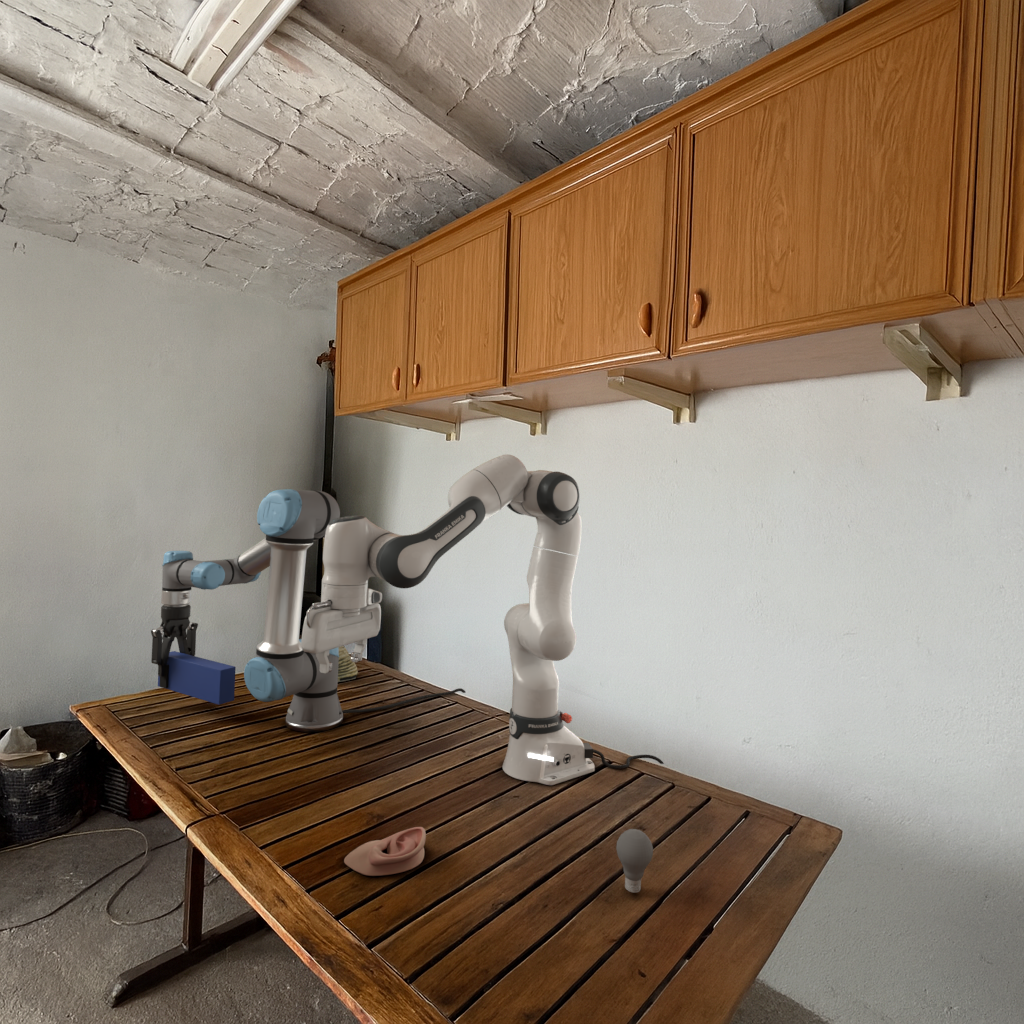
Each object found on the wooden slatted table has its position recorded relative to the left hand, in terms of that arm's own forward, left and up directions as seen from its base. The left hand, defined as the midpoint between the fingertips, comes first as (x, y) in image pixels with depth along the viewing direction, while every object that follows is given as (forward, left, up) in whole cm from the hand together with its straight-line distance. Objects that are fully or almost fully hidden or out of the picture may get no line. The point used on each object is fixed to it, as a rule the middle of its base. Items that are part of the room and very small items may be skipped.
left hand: (172, 684), depth 183 cm
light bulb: (-14, +141, -7) cm, 142 cm away
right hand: (+5, +85, +23) cm, 88 cm away
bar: (-2, +10, -1) cm, 10 cm away
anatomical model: (+8, +104, -7) cm, 105 cm away
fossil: (-49, +7, -7) cm, 50 cm away
